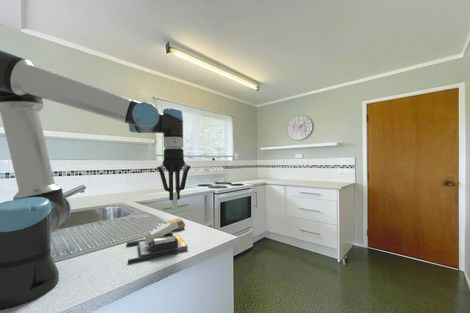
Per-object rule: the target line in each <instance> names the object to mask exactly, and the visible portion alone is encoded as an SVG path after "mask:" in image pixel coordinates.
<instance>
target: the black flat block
mask: <svg viewBox="0 0 470 313" xmlns="http://www.w3.org/2000/svg"><path fill="white" fill-rule="evenodd" d="M152 231H153V230H152ZM152 231H150V232H152ZM137 246H138V250H139V257H143V256H148V255H153V254H158V253H163V252H168V251H172V250H177V253H180V252H185V251H188V248H189V247H188V244H187V243H186V241H185V240H184V239H183V238H182V236H181V235H180V234H177V235H174V234H173V231H171V232H169V233H167V234H165V235H164V236H162V237H160V238H157V239H154V241H153V242H151V243H149V244H148V243H147V241H141V242H138V245H137Z"/></svg>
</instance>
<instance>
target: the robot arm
mask: <svg viewBox="0 0 470 313" xmlns="http://www.w3.org/2000/svg"><path fill="white" fill-rule="evenodd" d="M43 99H45V100H48V101H51V102H55V103H58V104H62V105H65V106H69V107H71V108H75V109H79V110H82V111H86V112H89V113H92V114H95V115H99V116H102V117H105V118H109V119H113V120H116V121H120V122H122V123H126V124H128V129H129V132H131V133H137V134H141V133H142V134H162V135H163V148H164V149H163V161H162V164H161V165H159V166H156V169H157V170H156V171H158V172H159V175H160V180H161V183H162V187H163V190H164V191H165V192H168V197H169V198H168V199H169V201H171V208H172V209H173V210H178V200H179V201H180V199H181V197H180V196H181V191H183V190H185V187H186V182H187V178H188V174H189V171H190V169H191V166H190V165H188V164H186V162H185V159H184V149H183V148H184V119H183V118H184V117H183V111H182V110H181V109H179V108H175V107H166V108H163V110H162V113H160V112H159V110H158V108H157V106H155V105H154V104H153V103H152V102H150V101H149V102H148V101H142V102H140V101H137V100H135V99H134V100H133V99H131V98H129V97H126V96H122V95H119V94H117V93H113V92H110V91H107V90H105V89H102V88H99V87H96V86H93V85H90V84H87V83H84V82H81V81H78V80H75V79H72V78H69V77H66V76H63V75H60V74H57V73H55V72H52V71H50V70H47V69H43V68H41V67H38V66H37V67H36V66H35V65H33V63H32V62H31V61H30V60H28V59H26V58H22V57H20V56H17V55H14V54H12V53H9V52H6V51H3V50H0V118H1V121H2V125H3V130H4V134H5V138H6V142H7V147H8V150H9V155H10V160H11V164H12V168H13V172H14V175H15V176H14V177H15V181H16V185H17V189H18V191H17V192H16V193H15V195H14V196H12V200H6V201H2V202H0V310H3V309H9V308H11V307H16V306H19V305H22V304H25V303H27V302H30V301H32V300H35V299H36V298H39V297H41V296H42V295H45V294H46V293H48V292H50V290H52V289H54V287H56V285H58V282H59V281H60V277H59V276H60V272H59V269H58V267H57V264H56V262H55V260H54V258H53V257H52V252H51V251H52V250H51V247H52V246H51V243H52V242H51V241H52V240H51V239H52V236H51V234H52V233H54V232H55V231H56V230H57V229H60V228H61V227H62V226H63V225H64V224H65V223H66V221H68V218H69V217H70V214H71V210H72V209H71V203H70V201H69V200H68V199H67V198H66V197H65V196H64V192H63V188H62V186H60V185H57V184H56V183H55V179H54V178H55V177H54V174H53V169H52V167H51V166H52V165H51V160H50V156H49V152H48V147H47V143H46V139H45V134H44V130H43V125H42V120H41V115H40V111H41V110H43V109H44V107H45V106H44V102H43ZM164 168H165V170H166V171H167V172H168V183H167V178H166V176H165V173H164ZM182 169H184V170H183V172H182V177H181V179H180V175H181V171H182ZM174 175H175V176H174ZM174 180H175V190H174ZM180 181H181V182H180Z"/></svg>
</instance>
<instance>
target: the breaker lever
mask: <svg viewBox="0 0 470 313" xmlns="http://www.w3.org/2000/svg"><path fill="white" fill-rule="evenodd" d="M171 220H172V221H170V220H169V221H170V222H169V223H165V224H164V225H161V226H159V227H158V228H156V229H154V230H152V232H151V231H149V232H147V233H145V234H144V239H146V241H147V243H148V244H149V243H151V242H153V241H154V239H157V238H160V237H162V236H164V235H165V234H167V233H169V232H171V231H172V232H173V231H175V230H174V229H176V228H178V224H177V222H176V221H175V220H174V219H171Z"/></svg>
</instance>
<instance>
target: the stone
mask: <svg viewBox="0 0 470 313" xmlns="http://www.w3.org/2000/svg"><path fill="white" fill-rule="evenodd" d="M172 220H175V221H176V222H177V224H178V228H176V229H174V230H173V231H181V230H183V229H185V227H186V224H185V222H184V220H183V218H174V219H171V220H168V221H167V223H169V222H170V221H172ZM167 223H166V224H167Z"/></svg>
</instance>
